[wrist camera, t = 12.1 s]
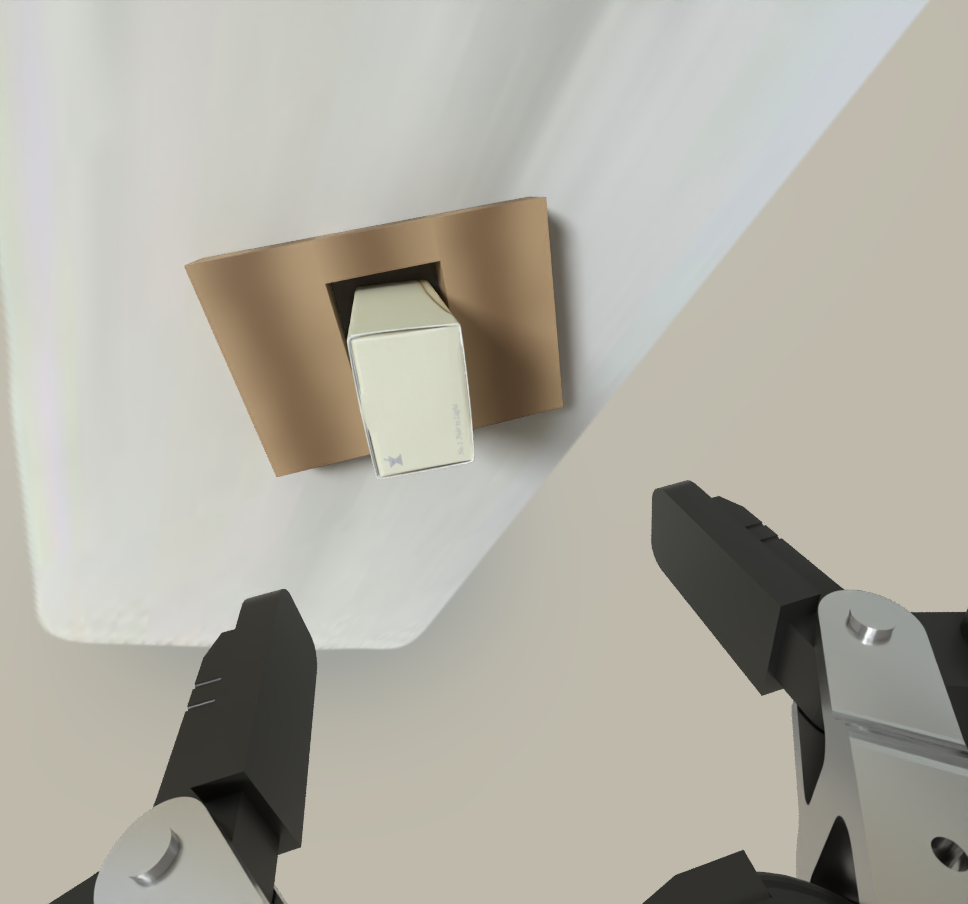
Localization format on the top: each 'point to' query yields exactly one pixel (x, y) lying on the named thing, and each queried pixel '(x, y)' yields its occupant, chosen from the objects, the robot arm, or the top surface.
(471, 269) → the board
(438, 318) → the skincare box
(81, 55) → the top surface
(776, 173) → the top surface
